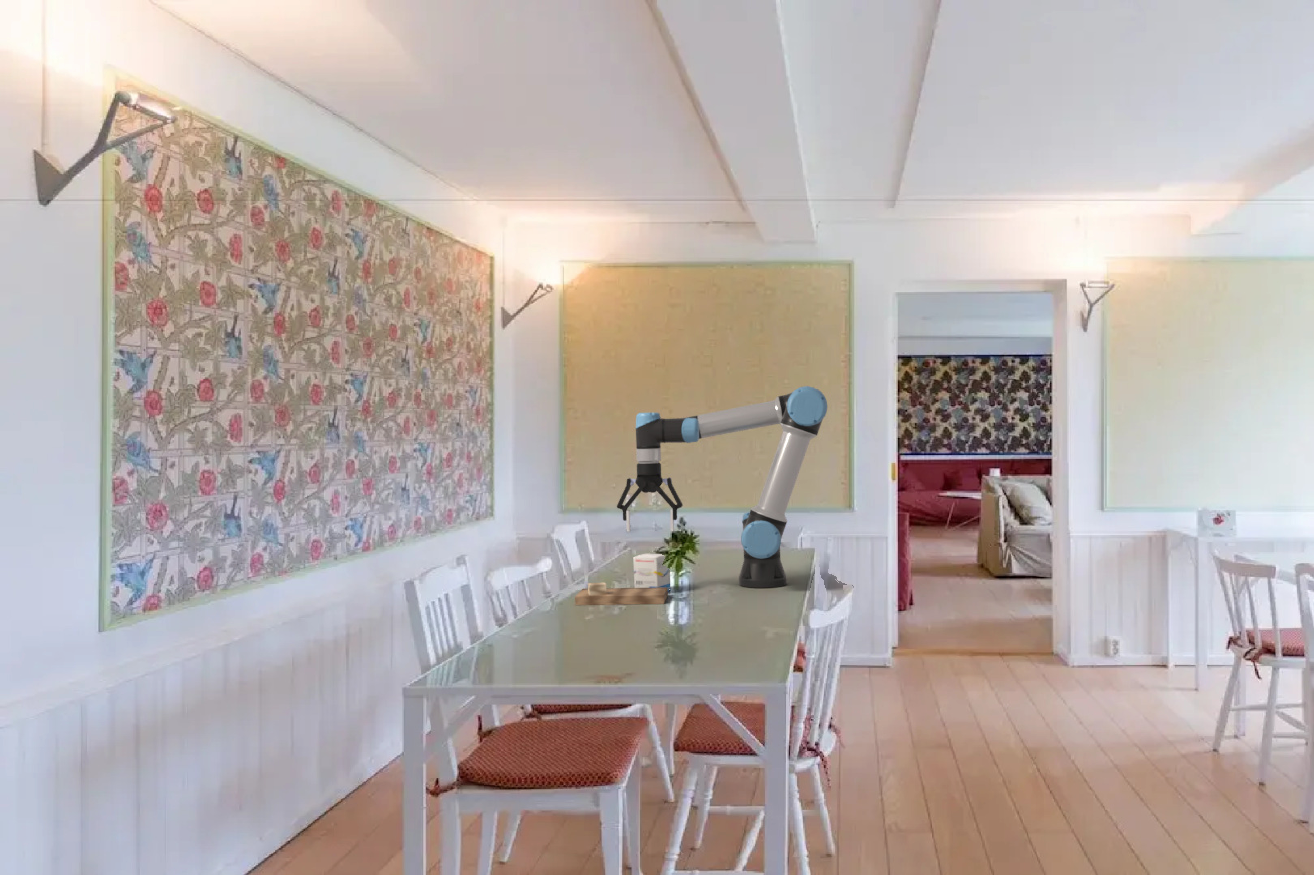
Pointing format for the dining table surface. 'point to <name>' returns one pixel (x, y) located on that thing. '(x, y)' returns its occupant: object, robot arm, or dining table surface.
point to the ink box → (650, 571)
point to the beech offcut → (597, 588)
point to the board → (624, 596)
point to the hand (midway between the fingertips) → (650, 531)
